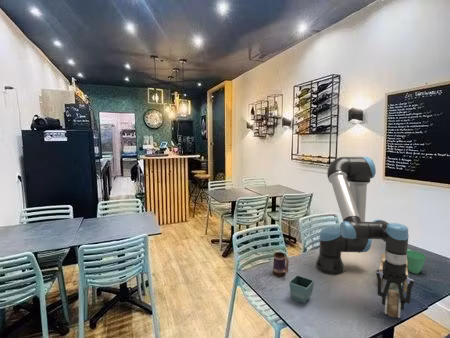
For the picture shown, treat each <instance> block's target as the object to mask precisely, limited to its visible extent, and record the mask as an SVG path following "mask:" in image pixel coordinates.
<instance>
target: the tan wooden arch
mask: <svg viewBox="0 0 450 338" xmlns="http://www.w3.org/2000/svg"><path fill="white" fill-rule="evenodd" d="M385 260H386V259H385V253H381V254H380V262H379V270H378V271H379V272H383V270H384V266H385ZM405 264H406V275H407V277H408V278H409V270H408V268H407V267H408V264H407V262H406V263H405ZM382 283H383V276H382V277H381V287H382V286H383V285H382ZM402 284H403V292H404V293H406V294H407V285H408V283H407V280H405V281H404V282H402Z"/></svg>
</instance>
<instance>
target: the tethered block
mask: <svg viewBox="0 0 450 338" xmlns="http://www.w3.org/2000/svg"><path fill="white" fill-rule="evenodd" d="M401 285H402V286H403V282H402V283H401ZM387 296H388V301H387V314H386V315H387V316H388V317H391V318H398V303H399V300H400V295H399V289H398V284H395V283H391V284H390V286H389V289H388V292H387Z"/></svg>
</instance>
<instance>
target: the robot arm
mask: <svg viewBox="0 0 450 338" xmlns="http://www.w3.org/2000/svg"><path fill="white" fill-rule="evenodd" d="M376 171H377V170H376V164H375V163H374V160H373V159H372V158H371V157H369V156H340V157H337V158H335V159H334V160H332V161H331V163H330V164H329V166H328V169H327V172H326V174H327V175H326V176H327V179H328V182H329V183H330V184H331V186H332V189H333V192H334V196H335V199H336V203H337V207H338V209H339V212H340V214H341V219H342V222H340V224H339V227H335V226H329V227H328V226H327V227H325V228H322V229H321V230H320V232H319V247H318V249H319V251H318V256H317V259H316V261H315V268H316V270H318V271H319V272H321V273H324V274H327V275H334V276H335V275H341V274H343V273H344V272H345V271H344V270H345V266H344V263H343V260H342V253H359V254H360V253H366V252H368V251H369V250H370V249H371V247H372V243H373V242H372V241H373V240H382V241H383V242H385V251H384V254H385V259H386V260H385V266H384V270H383V272H379V271H380V270H376V273H375V276H376V278H377V296H378V297H381V298H382V300H381V304H382V306H384V314H385V315H387V301H388V293H387V292H388V289H389V286H390V284H391V283H395V284H398V289H399V295H400V297H399V303H398V317H397V318H399V319H400V318H401V311H404V310H405V304H406V303H407V304H410V302H411V294H412V287H413V285H414V283H415V281H414V278H410V277H409V276H408V277H407V275H406V264H405V263H406V262H407V249H408V248H409V247H408V245H409V228H408V227H407V226H406V225H404V224H401V223H396V222H391V223H389V222H387V221H386V220H383V219H379V218H378V219H374V220H373V221H366V210H367V208H366V207H367V206H366V205H367V193H368V192H367V190H368V189H367V187H368V186H367V185H369V184H370V183H371V179H373V178H375V176H376ZM383 276H384V278H385V279H386V283H385V285H384V288H383V291H382V286H381V277H382V278H383ZM405 280H407V283H408V284H407V293H406V295H405V297H404V293H403V292H404V289H403V282H404V281H405ZM401 283H402V285H401Z"/></svg>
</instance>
